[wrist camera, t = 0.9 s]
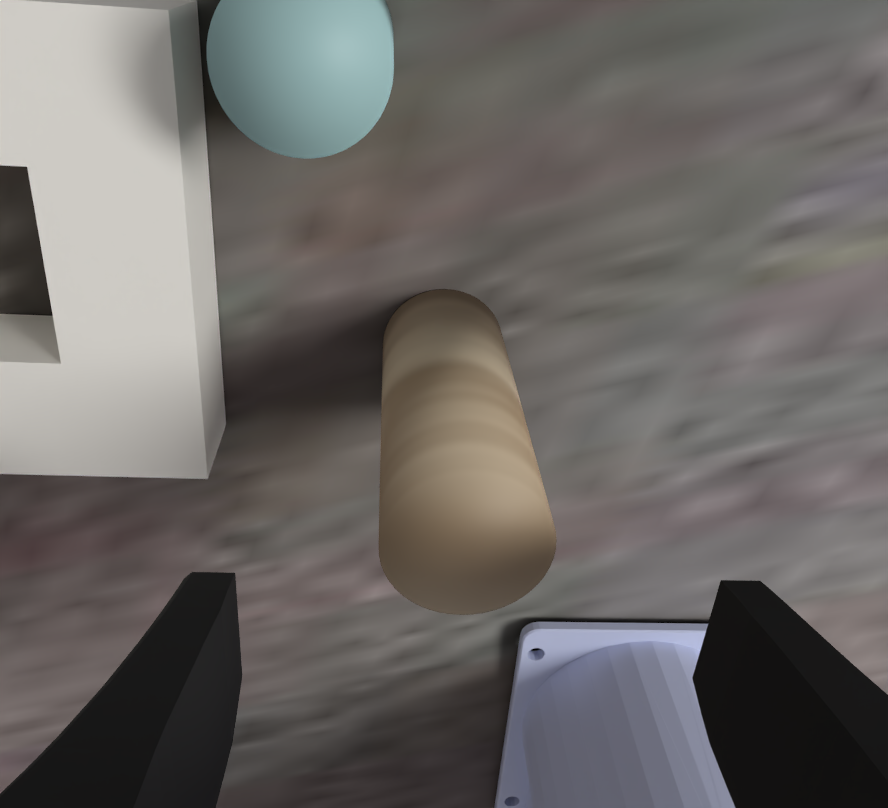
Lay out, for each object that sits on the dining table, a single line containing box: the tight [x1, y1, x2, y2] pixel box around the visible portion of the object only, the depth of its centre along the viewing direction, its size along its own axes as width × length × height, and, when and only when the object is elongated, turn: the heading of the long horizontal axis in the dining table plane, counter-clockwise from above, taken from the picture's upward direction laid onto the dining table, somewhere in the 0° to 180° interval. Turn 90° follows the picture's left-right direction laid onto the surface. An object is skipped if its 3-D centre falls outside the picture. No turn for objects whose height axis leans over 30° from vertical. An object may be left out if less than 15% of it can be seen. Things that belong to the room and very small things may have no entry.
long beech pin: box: [379, 289, 556, 615], centre depth 18 cm, size 3×3×8 cm
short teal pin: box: [207, 0, 394, 158], centre depth 16 cm, size 3×3×4 cm
